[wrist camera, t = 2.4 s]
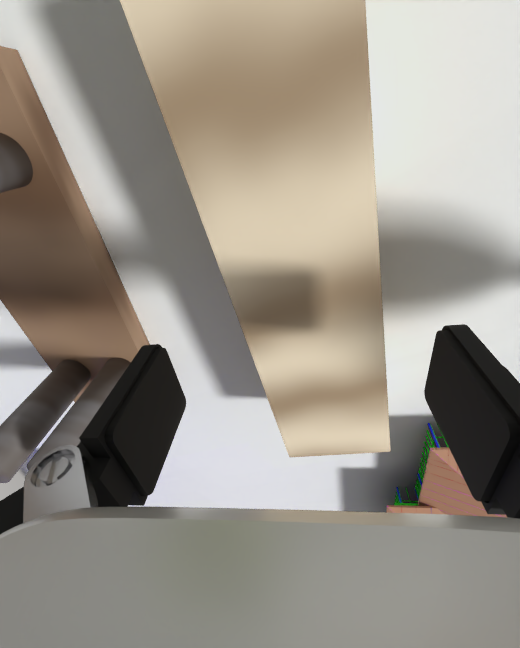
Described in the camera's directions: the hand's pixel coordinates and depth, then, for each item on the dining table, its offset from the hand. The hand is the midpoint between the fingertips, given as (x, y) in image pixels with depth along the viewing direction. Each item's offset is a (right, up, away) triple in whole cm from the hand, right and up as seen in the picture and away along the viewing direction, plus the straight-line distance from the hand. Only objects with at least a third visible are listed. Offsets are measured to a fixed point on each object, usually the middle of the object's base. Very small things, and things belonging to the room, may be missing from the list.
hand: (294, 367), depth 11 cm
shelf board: (+1, +6, +7) cm, 9 cm away
